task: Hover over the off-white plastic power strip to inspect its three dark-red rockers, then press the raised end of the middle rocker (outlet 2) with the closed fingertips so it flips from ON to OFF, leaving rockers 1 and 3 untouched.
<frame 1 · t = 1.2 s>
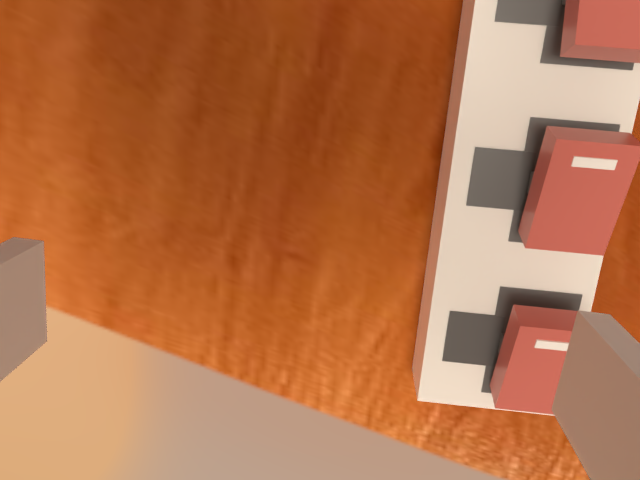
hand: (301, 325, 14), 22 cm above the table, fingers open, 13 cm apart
power strip: (514, 170, 35), on the table
rocker 3: (540, 362, 31), point 6 cm above the table, hinge at 15.0°
rocker 2: (576, 192, 29), point 6 cm above the table, hinge at 15.0°
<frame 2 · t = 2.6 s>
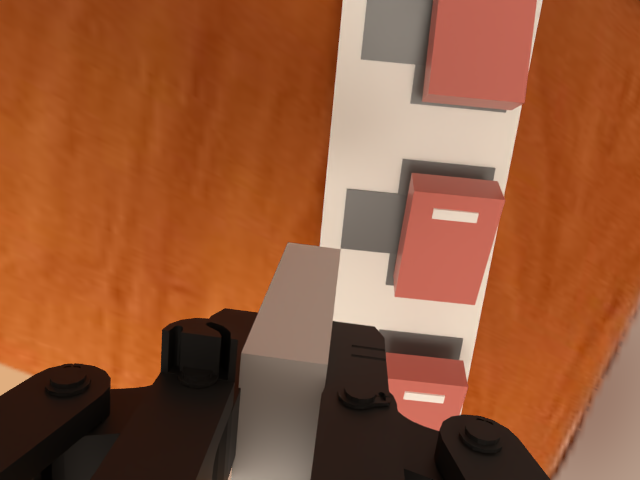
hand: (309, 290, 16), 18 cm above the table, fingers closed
rocker 1: (479, 31, 24), point 6 cm above the table, hinge at -15.0°
power strip: (402, 205, 33), on the table
rocker 3: (416, 409, 31), point 6 cm above the table, hinge at 15.0°
rocker 2: (444, 241, 27), point 6 cm above the table, hinge at 15.0°
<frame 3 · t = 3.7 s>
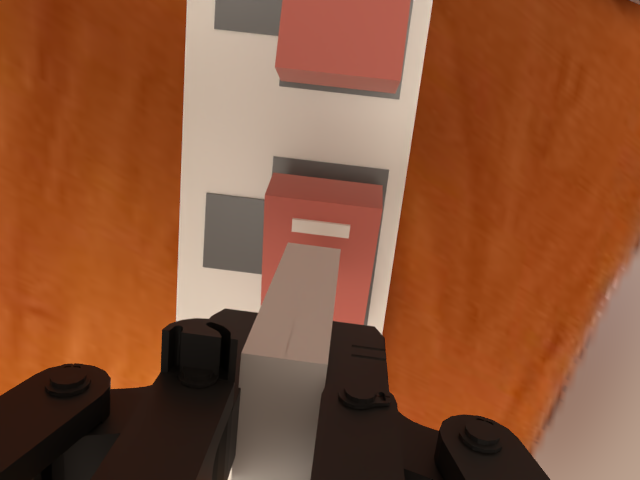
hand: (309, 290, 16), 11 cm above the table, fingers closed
power strip: (296, 215, 28), on the table
rocker 2: (318, 261, 22), point 6 cm above the table, hinge at 15.0°
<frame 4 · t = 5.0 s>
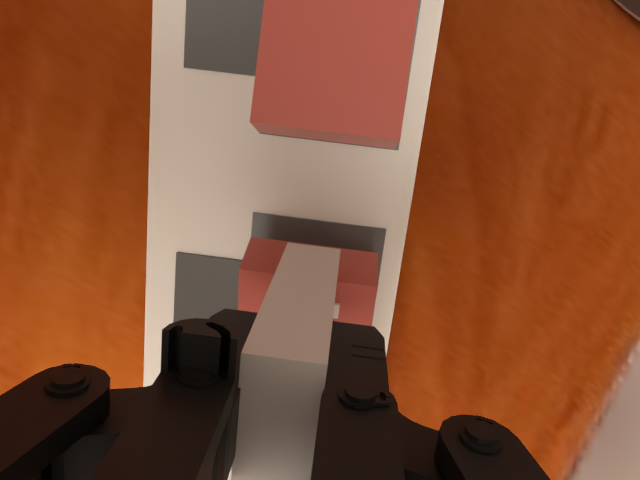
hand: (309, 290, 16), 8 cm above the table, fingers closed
rocker 1: (339, 27, 16), point 6 cm above the table, hinge at -15.0°
power strip: (282, 268, 25), on the table
rocker 2: (303, 337, 19), point 6 cm above the table, hinge at 14.7°, touching gripper
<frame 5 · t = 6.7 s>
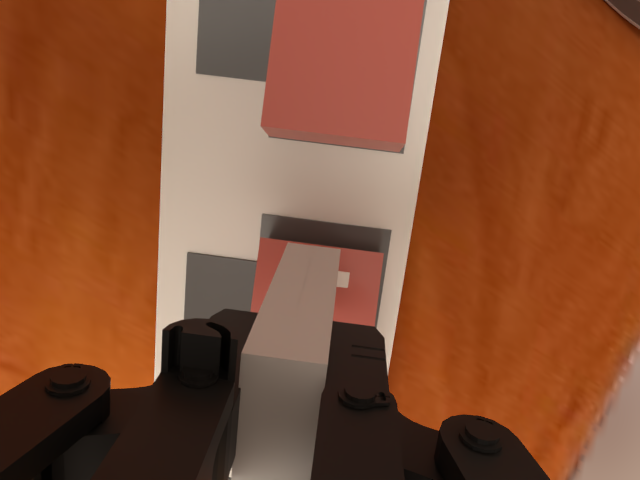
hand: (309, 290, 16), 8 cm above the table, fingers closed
rocker 1: (346, 35, 16), point 6 cm above the table, hinge at -15.0°
power strip: (289, 269, 25), on the table
rocker 2: (311, 334, 19), point 6 cm above the table, hinge at -18.3°
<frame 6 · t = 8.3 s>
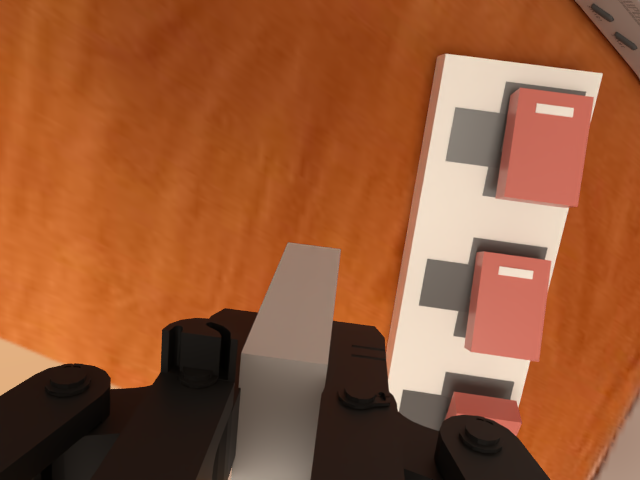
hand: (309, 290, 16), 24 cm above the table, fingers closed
rocker 1: (543, 149, 32), point 6 cm above the table, hinge at -15.0°
power strip: (464, 269, 41), on the table
grey rounded slab: (611, 27, 36), on the table
rocker 3: (475, 439, 37), point 6 cm above the table, hinge at 15.0°
rocker 2: (506, 305, 35), point 6 cm above the table, hinge at -18.6°
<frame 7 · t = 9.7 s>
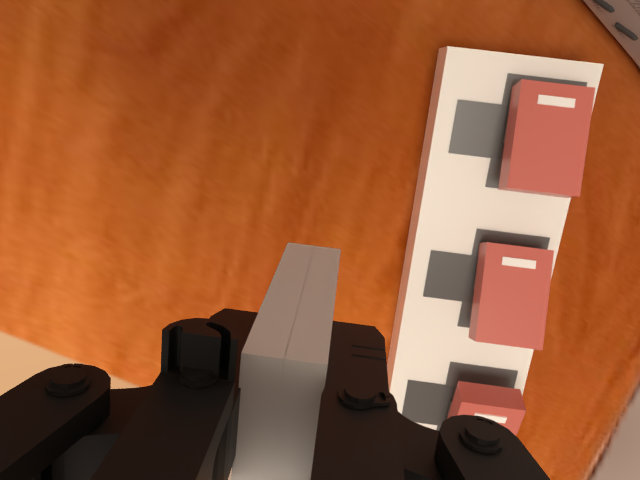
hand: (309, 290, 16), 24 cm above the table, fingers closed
rocker 1: (545, 140, 32), point 6 cm above the table, hinge at -15.0°
power strip: (468, 260, 41), on the table
grey rounded slab: (611, 18, 36), on the table
rocker 3: (480, 427, 38), point 6 cm above the table, hinge at 15.0°
rocker 2: (510, 295, 35), point 6 cm above the table, hinge at -18.6°
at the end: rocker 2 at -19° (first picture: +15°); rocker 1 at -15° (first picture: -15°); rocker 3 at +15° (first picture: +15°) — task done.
